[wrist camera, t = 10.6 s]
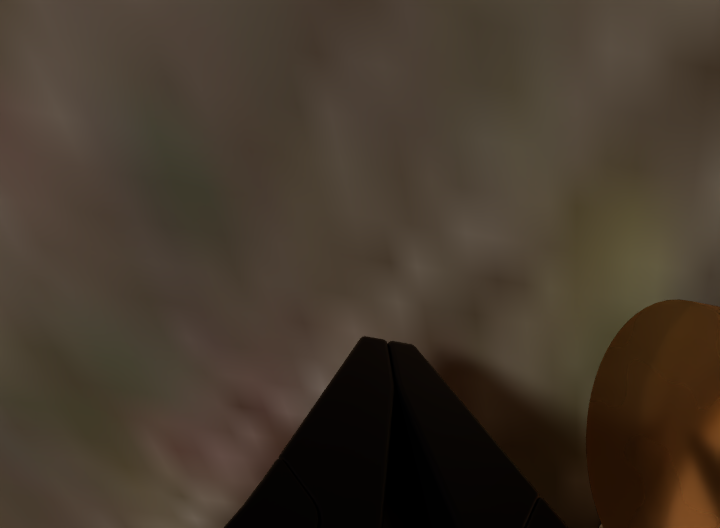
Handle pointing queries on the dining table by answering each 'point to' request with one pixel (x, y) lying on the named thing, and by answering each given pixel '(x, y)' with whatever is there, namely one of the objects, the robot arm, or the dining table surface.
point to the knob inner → (658, 421)
